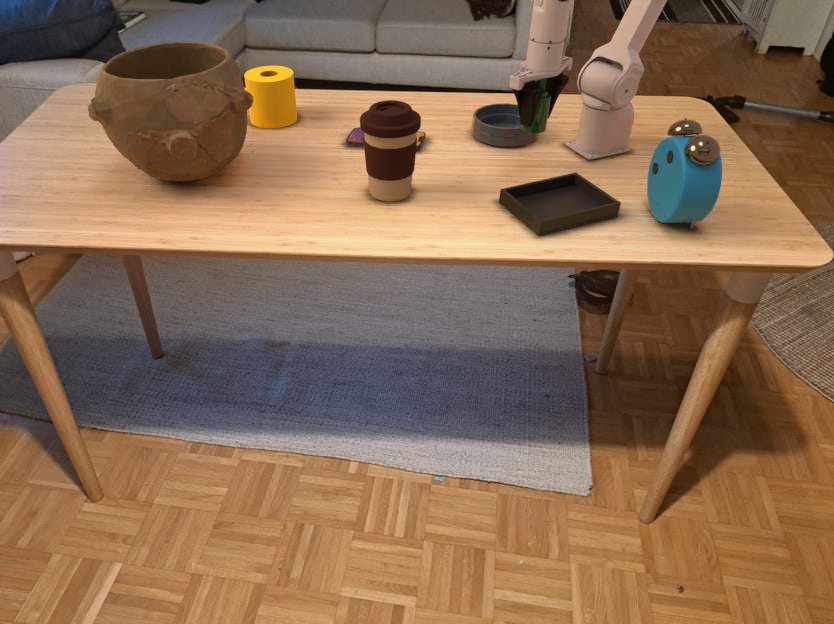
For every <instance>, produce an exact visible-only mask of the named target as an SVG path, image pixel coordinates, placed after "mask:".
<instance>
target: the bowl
mask: <svg viewBox="0 0 834 624" xmlns="http://www.w3.org/2000/svg"><path fill="white" fill-rule="evenodd" d="M243 81H244V80H243V78H242V74H241V71H240V68H239V66H238V64H237V61H236V60H235V59H234V56H233V55H232V54H231V53H230V52H229V51H228V49H227V48H226V47H222V46H220V45H216V44H213V43H210V42H209V43H208V42H202V41H192V40H190V41H189V40H187V41H186V40H179V41H177V40H176V41H165V42H158V43H153V44H146V45H142V46H138V47H135V48H132V49H128V50H125V51H123V52H121V53H119V54H117V55H115V56H113V57H112V58H111V59H109V60H107V62H105V64H103V66H102V67H101V68H100V71H99V75H98V77H97V82H96V85H95V91H94V97H92V98H90V103H89V104H88V106H87V111H88V117H89V119H91V120H92V121H95V122H99V124H100V125H101V126H102V129H103V131H104V133H105V134H106V136H107V138H108V139H109V141H110V142H111V144H112V145H113V147H114V148H115V149H116V150H117V151H118V152H119V153H120V154H121V155H122V157H123V158H125V159H126V160H128V161H129V162H130V163H131V164H132V165H133V166H135V167H136V168H137V169H138V170H140V171H142V172H143V173H145V174H147V175H149V176H152V177H153V178H157V179H159V180H162V181H171V182H188V181H195V180H197V181H198V180H202V179H203V180H204V179H206V178H208V177H210V176H213V175H214V174H216V173H219V172H221V171H223V170H224V169H225V168H227V167H228V166H229V165H231V164H232V163H233V162H234V161H235V160H236V158H237V157H238V156H239V155H240V152H241V151H242V149H243V147H244V144H245V141H246V137H247V132H248V122H249V121H248V111H249V108H250V107H252V104H253V96H252V95H251V94H250V93H249V92H247V91H246V88H245V85H244V84H245V83H244V82H243Z"/></svg>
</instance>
